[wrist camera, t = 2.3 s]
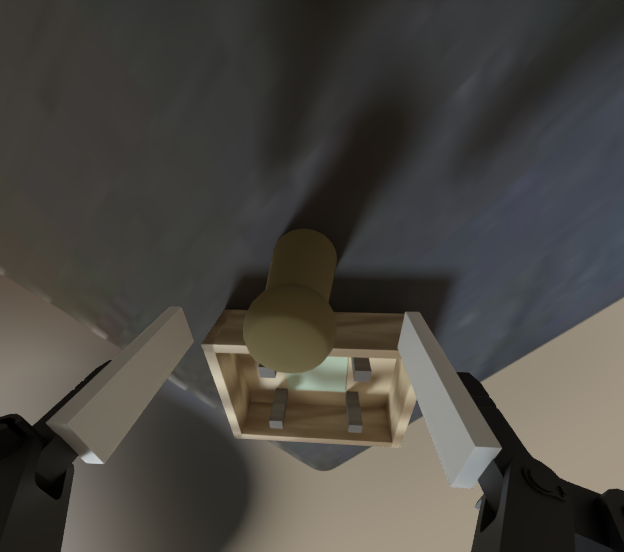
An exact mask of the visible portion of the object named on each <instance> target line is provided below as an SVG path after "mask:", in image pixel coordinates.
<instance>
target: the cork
mask: <svg viewBox="0 0 624 552" xmlns="http://www.w3.org/2000/svg"><path fill="white" fill-rule="evenodd" d="M336 264H337V254H336V250H335V248H334V246H333V244H332V242H331V241H330V240H329V239H328V238H327V237H326V236H325V235H324V234H322V233H320V232H318V231H316V230H312V229H305V228H302V229H296V230H292V231H290V232H288V233H286V234H284V235H283V236H282V237H281V238H280V239H279V240H278V241H277V243H276V245H275V248H274V250H273V254H272V259H271V264H270V269H269V274H268V279H267V284H266V289H265V291H263V292H262V293H261V294H260V295H259V296H258V297H257V298H256V299H255V300H254V301H253V302H252V303H251V305H250V307H249V309H248V311H247V314H246V316H245V318H244V323H243V338H244V341H245V344H246V346H247V349H248V351H249V353H250V354H251V356H252V357H253V358H254V359H255V360H256V361H257V362H258V363H260V364H262V365H263V366H265V367H266V368H269V369H271V370H274V371H277V372H282V373H289V374H291V373H303V372H306V371H309V370H312V369H314V368H316V367H317V366H319V365H320V364H322V362H323V361H324V360H325V359H326V358H327V356H328V355H329V354H330V353H331V351H332V349H333V346H334V342H335V338H336V335H337V328H336V320H335V314H334V312H333V310H332V308H331V306H330V305H329V303H328V302H329V298H330V293H331V288H332V283H333V279H334V274H335V269H336Z"/></svg>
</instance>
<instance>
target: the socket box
mask: <svg viewBox="0 0 624 552" xmlns="http://www.w3.org/2000/svg"><path fill="white" fill-rule="evenodd" d="M247 311H248V310H224V311H223V312H222V314H221V315H220V317H219V318H218V320H217V321H216V323H215V324H214V326H213V327H212V329H211V330H210V332H209V333H208V335H207V337H206V338H205V340H204V341H203V343H202V347H203V350H204V353H205V356H206V358H207V361H208V364H209V367H210V370H211V372H212V375H213V378H214V381H215V384H216V386H217V389H218V392H219V395H220V397H221V400H222V403H223V406H224V409H225V411H226V414H227V417H228V420H229V423H230V425H231V428H232V431H233V434H234V437H235V438H245V439H263V440H279V441H296V442H313V443H330V444H347V445H364V446H383V447H400V445H401V443H402V440H403V437H404V434H405V431H406V428H407V425H408V423H409V420H410V417H411V414H412V411H413V408H414V405H415V402H416V400H417V398H416V395H415V393H414V390H413V387H412V385H411V382H410V379H409V377H408V374H407V371H406V369H405V366H404V363H403V361H402V358H401V356H400V353H399V350H398V348H397V347H398V343H399V338H400V334H401V329H402V325H403V320H404V316H405V314H397V313H353V312H334V314H335V320H336V328H337V335H336V338H335V342H334V346H333V349H332V351H331V353H330V354H329V355H328V356H327V358H326V359H325V360H324V361H323V362H322V364H320V365H319V366H317V367H316V368H314V369H312V370H309V371H306V372H303V373H291V374H289V373H282V372H277V371H274V370H271V369H269V368H266V367H265V366H263V365H262V364H260V363H258V362H257V361H256V360H255V359H254V358H253V357H252V356H251V354H250V353H249V351H248V349H247V346H246V344H245V341H244V338H243V323H244V318H245V316H246V314H247Z"/></svg>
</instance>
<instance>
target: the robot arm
mask: <svg viewBox="0 0 624 552" xmlns="http://www.w3.org/2000/svg"><path fill="white" fill-rule="evenodd" d="M193 342H194V340H193V337H192V335H191V332H190V329H189V326H188V323H187V321H186V318H185V315H184V312H183V309H182V307H169V308H167V309H166V310H165V311H164V312H163V313H162V314H161V315H160V316H159V317H158V318H157V319H156V320H155V321H154V322H153V323H151V324H150V325H149V326H148V327H147V328H146V329H145V330H144V331H143V332H142V333H141V334H140V335H139V336H138V337H137V338H136V339H134V340H133V341H132V342H131V343H130V344H129V345H128V346H127V347H126V348H125V349H124V350H123V351H122V352H121V353H120V354H118V355H117V356H116V357H115V358H114V359H113V360H109V361H108V362H106V363H104V364H103V365H101V366H99V367H98V368H96V369H95V370H94V371H93V372H92V373H91V374H89V376H87V377H86V378H85V379H84V381H82V382H81V383H80V384H78V385H77V386H76V387H75V389H74V390H72V391H71V392H70V393H69V394H67V395H66V396H65V397H64V398H63V399H62V400H61V401H60V402H59V403H58V404H56V405H55V406H54V407H53V408H52V409H51V410H50V411H49V412H48V413H47V414H45V415H44V416H43V417H42V418H41V419H40V420H39V421H38V422H37V423H35V424H34V425H33V426H31V425H30V424H29V423H28V422H27V421H26V420H25V419H24V418H22V417H21V416H20V415H18V414H9V415H5V416H2V417H0V552H61V547H62V541H63V535H64V529H65V523H66V517H67V510H68V505H69V498H70V493H71V487H72V481H73V474H74V465H73V464H72V462H73V461H74V460H75V459H76V457H77V456H78V455H79V456H80V457H81V458H82V459H83V460H84V461H85V462H86V463H94V464H105V463H106V461H107V460H108V458H109V457H110V456H111V454H112V453H113V452H114V450H115V449H116V447H117V446H118V445H119V443H120V442H121V440H122V439H123V438H124V436H125V435H126V434H127V432H128V431H129V429H130V428H131V427H132V426H133V424H134V423H135V421H136V420H137V418H138V417H139V416H140V415H141V413H142V412H143V410H144V409H145V407H146V406H147V405H148V404H149V402H150V401H151V399H152V398H153V397H154V395H155V394H156V392H157V391H158V390H159V388H160V387H161V386H162V384H163V383H164V381H165V380H166V379H167V377H168V376H169V375H170V373H171V372H172V371H173V369H174V368H175V366H176V365H177V364H178V362H179V361H180V360H181V358H182V357H183V356H184V354H185V353H186V351H187V350H188V349H189V347H190V346H191V345H192V343H193ZM397 348H398V350H399V353H400V356H401V358H402V361H403V363H404V366H405V369H406V371H407V374H408V377H409V379H410V382H411V385H412V387H413V390H414V393H415V395H416V398H417V401H418V403H419V406H420V409H421V411H422V414H423V417H424V419H425V422H426V424H427V427H428V430H429V432H430V435H431V438H432V440H433V443H434V446H435V448H436V451H437V454H438V456H439V459H440V462H441V464H442V467H443V470H444V472H445V475H446V477H447V480H448V483H449V485H450V487H458V488H473V487H474V485H475V484H476V483H477V481H478V482H479V484H480V486H481V488H482V490H483V492H484V494H483V496H482V497H481V498H480V499H479V500H478V502H477V504H476V506H475V508H477V509H480V510H479V515H478V520H477V525H476V530H475V535H474V540H473V545H472V550H471V552H624V491H623V490H619V489H609V490H607V491H606V492H605V493H603V494H599V493H596V492H594V491H591V490H588V489H586V488H583V487H581V486H578V485H575V484H573V483H570V482H567V481H565V480H563V479H561V478H559V477H558V476H557V475H556V474H555V473H554V472H553V471H552V470H551V469H550V468H549V467H547V466H546V465H544V464H543V463H542V462H540V461H538V460H536V459H534V458H533V457H532V456H531V455H530V453H529V452H528V451H527V450H526V448H525V447H524V446H523V444H522V443H521V441H520V440H519V438H518V437H517V435H516V434H515V432H514V431H513V429H512V428H511V427H510V425H509V424H508V422H507V421H506V419H505V418H504V417H503V415H502V413H501V412H500V411H499V409H497V408H496V405H495V403H494V402H493V400H492V399H491V398H490V397H489V395H488V393H487V392H486V390H485V389H484V388H483V386H482V384H481V383H480V382H479V381H478V380H476V379H475V378H474V377H473V376H472V375H471V374H470V373H466V372H456V371H455V370H454V368H453V366H452V365H451V363H450V362H449V360H448V358H447V357H446V355H445V353H444V352H443V350H442V348H441V347H440V345H439V343H438V342H437V340H436V338H435V337H434V335H433V334H432V332H431V330H430V329H429V327H428V325H427V324H426V322H425V320H424V319H423V317H422V315H421V314H420V312H405V316H404V320H403V325H402V329H401V334H400V338H399V343H398V347H397Z"/></svg>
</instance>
